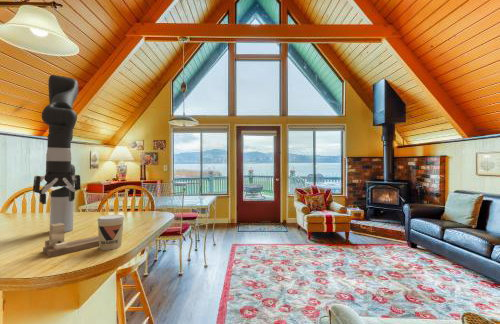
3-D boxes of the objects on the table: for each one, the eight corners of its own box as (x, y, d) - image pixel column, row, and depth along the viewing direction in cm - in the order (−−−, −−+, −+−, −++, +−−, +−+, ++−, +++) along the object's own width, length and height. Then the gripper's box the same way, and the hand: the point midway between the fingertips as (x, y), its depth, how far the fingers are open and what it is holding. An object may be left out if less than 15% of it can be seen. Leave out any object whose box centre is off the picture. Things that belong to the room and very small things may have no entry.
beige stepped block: (44, 249, 93) (45, 224, 93) (60, 246, 97) (60, 222, 97) (54, 254, 88) (54, 227, 88) (69, 251, 92) (70, 225, 92)
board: (42, 252, 91) (43, 247, 91) (100, 239, 107) (100, 235, 107) (50, 257, 86) (50, 251, 86) (109, 243, 103) (109, 238, 103)
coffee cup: (94, 251, 92) (95, 219, 93) (99, 244, 101) (99, 215, 101) (122, 248, 96) (123, 218, 96) (124, 242, 105) (125, 213, 105)
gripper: (76, 160, 101) (75, 199, 101) (31, 159, 89) (30, 203, 89) (84, 160, 97) (83, 201, 97) (38, 159, 85) (37, 206, 85)
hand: (57, 202), depth 93 cm, fingers open, 8 cm apart
